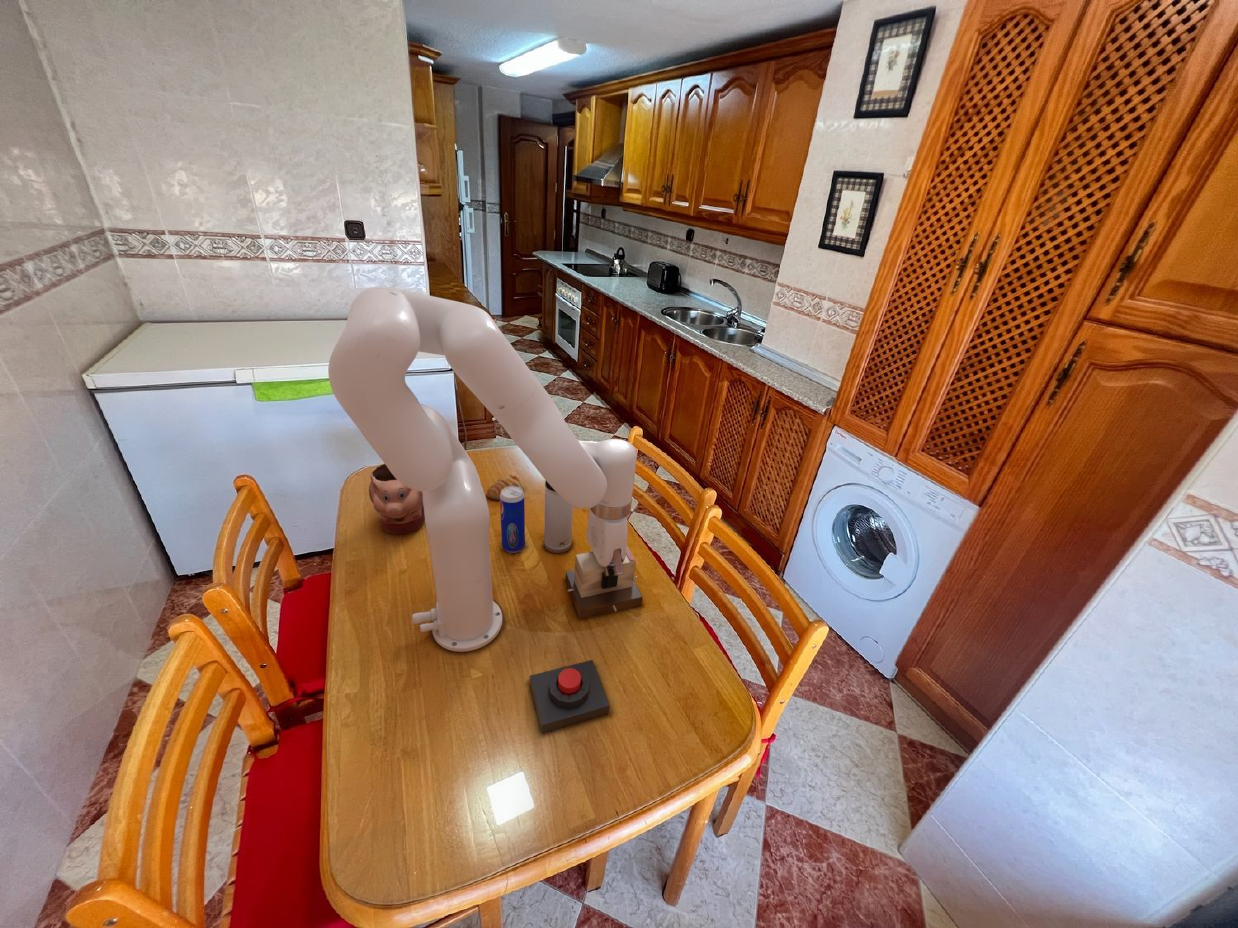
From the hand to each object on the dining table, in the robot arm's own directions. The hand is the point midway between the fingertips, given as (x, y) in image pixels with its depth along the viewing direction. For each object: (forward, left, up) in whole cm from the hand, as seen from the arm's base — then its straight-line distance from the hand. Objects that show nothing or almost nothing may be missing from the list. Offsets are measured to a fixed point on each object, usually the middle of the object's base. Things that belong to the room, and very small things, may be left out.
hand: (604, 576), depth 100 cm
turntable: (0, 0, -5) cm, 5 cm away
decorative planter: (-38, +36, -5) cm, 52 cm away
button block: (-13, -21, -5) cm, 25 cm away
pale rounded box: (0, 0, -2) cm, 2 cm away
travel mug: (-5, +17, -5) cm, 18 cm away
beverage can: (-15, +19, -5) cm, 25 cm away
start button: (-13, -21, -1) cm, 25 cm away
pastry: (-13, +41, -5) cm, 43 cm away
